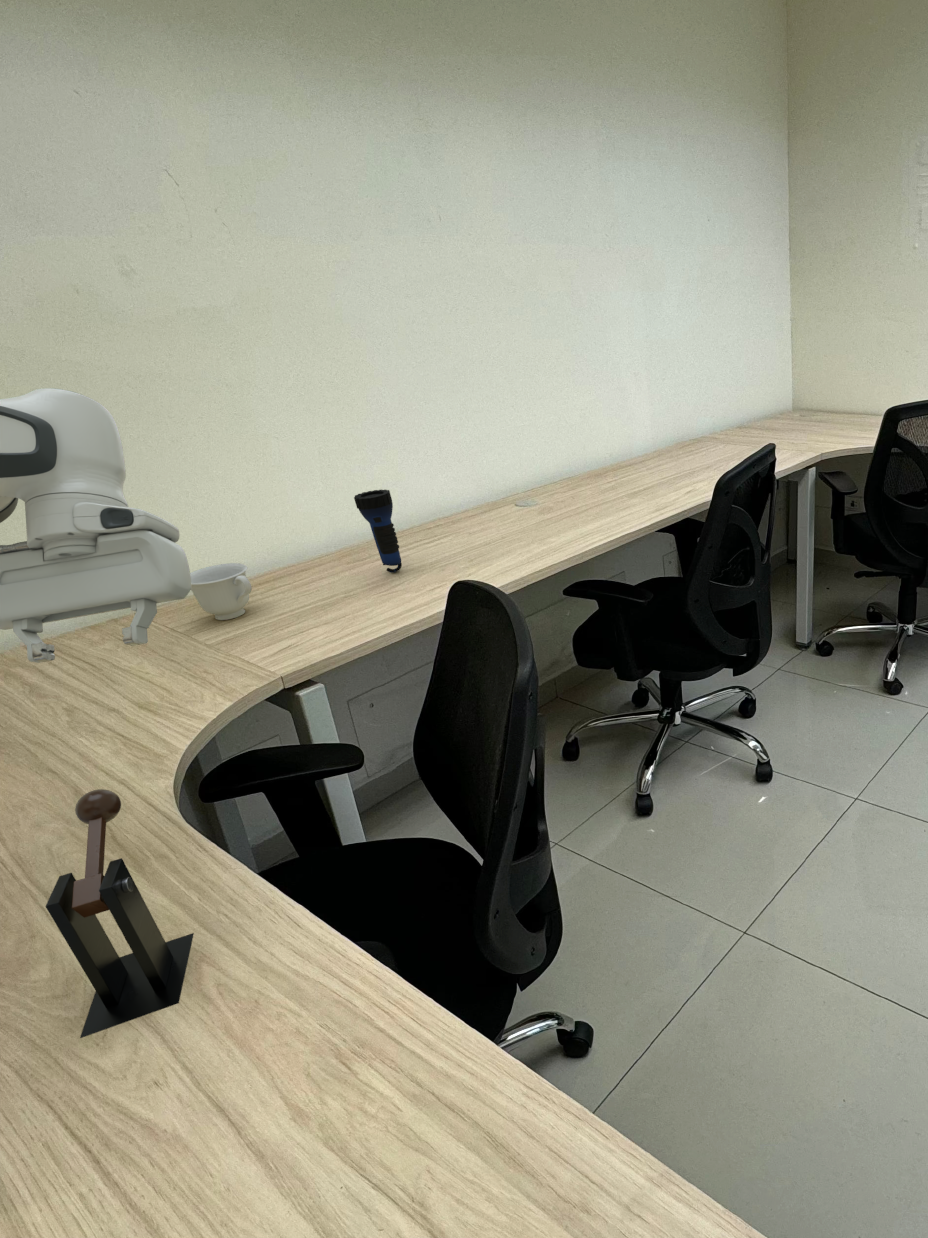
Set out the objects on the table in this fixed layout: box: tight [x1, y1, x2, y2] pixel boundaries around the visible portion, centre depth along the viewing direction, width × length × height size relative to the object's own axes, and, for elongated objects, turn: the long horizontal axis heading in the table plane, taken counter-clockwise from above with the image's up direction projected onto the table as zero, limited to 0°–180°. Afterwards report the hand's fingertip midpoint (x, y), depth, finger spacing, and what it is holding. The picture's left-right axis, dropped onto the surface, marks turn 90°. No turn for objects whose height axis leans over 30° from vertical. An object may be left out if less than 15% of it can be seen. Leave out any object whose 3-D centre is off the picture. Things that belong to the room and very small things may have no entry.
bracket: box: [45, 857, 195, 1039], centre depth 75 cm, size 10×8×15 cm
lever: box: [72, 788, 122, 918], centre depth 76 cm, size 13×4×4 cm, turn 27°
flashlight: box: [353, 489, 403, 574], centre depth 183 cm, size 8×8×20 cm
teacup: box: [190, 562, 253, 621], centre depth 165 cm, size 12×15×10 cm
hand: (89, 652), depth 83 cm, fingers open, 8 cm apart
